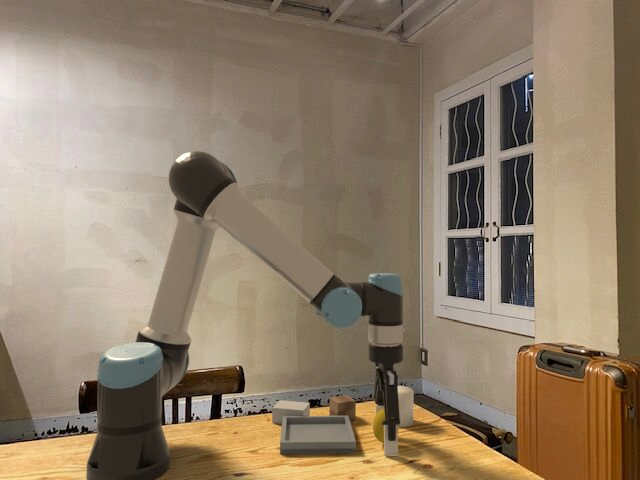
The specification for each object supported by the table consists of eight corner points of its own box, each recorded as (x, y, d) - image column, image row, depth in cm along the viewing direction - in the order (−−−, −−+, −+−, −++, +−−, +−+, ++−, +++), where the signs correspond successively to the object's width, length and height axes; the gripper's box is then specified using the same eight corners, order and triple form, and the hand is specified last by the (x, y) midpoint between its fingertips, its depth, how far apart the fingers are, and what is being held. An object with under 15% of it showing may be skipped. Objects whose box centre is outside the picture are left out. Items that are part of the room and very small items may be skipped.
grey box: (272, 423, 118) (272, 407, 118) (279, 415, 124) (280, 400, 124) (303, 426, 116) (303, 410, 116) (309, 418, 122) (309, 402, 122)
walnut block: (337, 423, 118) (337, 403, 119) (329, 416, 123) (329, 397, 123) (355, 420, 120) (355, 400, 121) (346, 414, 125) (347, 395, 125)
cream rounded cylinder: (387, 427, 116) (387, 394, 116) (382, 417, 123) (383, 385, 123) (416, 427, 116) (416, 393, 116) (409, 417, 123) (409, 385, 123)
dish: (280, 454, 100) (280, 442, 100) (282, 426, 116) (282, 416, 116) (355, 453, 101) (355, 441, 101) (348, 425, 117) (348, 415, 117)
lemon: (397, 440, 108) (397, 404, 108) (398, 450, 102) (398, 413, 102) (372, 439, 108) (372, 403, 108) (372, 449, 103) (373, 412, 103)
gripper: (415, 354, 94) (415, 467, 94) (392, 333, 117) (392, 424, 117) (377, 354, 94) (377, 467, 93) (361, 334, 117) (362, 424, 116)
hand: (386, 443), depth 105 cm, fingers open, 11 cm apart
